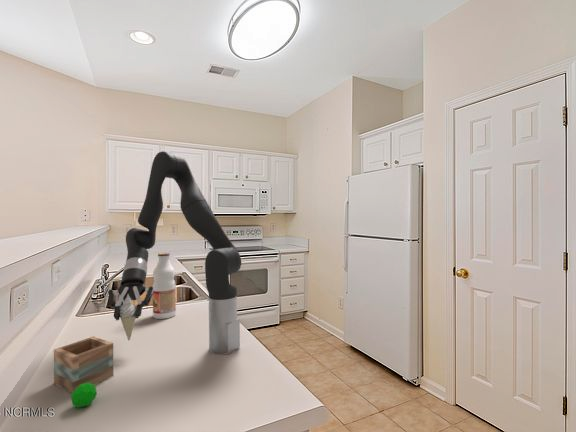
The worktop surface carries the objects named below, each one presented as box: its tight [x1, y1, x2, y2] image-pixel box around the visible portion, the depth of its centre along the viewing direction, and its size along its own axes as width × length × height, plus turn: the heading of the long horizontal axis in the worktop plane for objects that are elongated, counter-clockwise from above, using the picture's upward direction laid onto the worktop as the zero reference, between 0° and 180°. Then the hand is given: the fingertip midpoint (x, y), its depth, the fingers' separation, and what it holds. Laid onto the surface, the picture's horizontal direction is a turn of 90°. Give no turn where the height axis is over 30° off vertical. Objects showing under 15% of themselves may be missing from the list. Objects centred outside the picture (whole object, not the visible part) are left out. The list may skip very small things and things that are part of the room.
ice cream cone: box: [119, 295, 137, 341], centre depth 97 cm, size 5×5×15 cm
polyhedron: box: [70, 383, 98, 408], centre depth 71 cm, size 5×5×5 cm
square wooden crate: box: [53, 336, 115, 394], centre depth 82 cm, size 10×10×9 cm
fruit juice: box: [152, 252, 177, 320], centre depth 135 cm, size 9×9×28 cm
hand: (127, 317), depth 95 cm, fingers closed on ice cream cone, 5 cm apart
